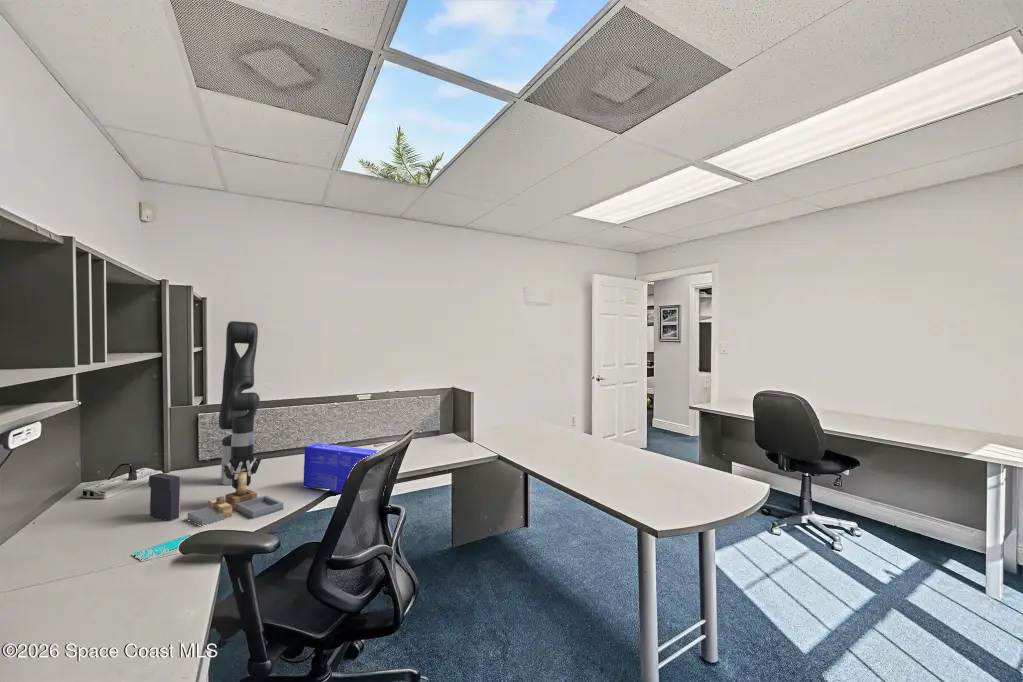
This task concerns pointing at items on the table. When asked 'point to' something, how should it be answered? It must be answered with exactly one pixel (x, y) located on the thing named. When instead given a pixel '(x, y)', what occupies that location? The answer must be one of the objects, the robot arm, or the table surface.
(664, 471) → the table surface
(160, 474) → the tall lidded box
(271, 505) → the tray
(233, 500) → the socket block
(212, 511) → the grey rectangular block
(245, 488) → the dowel
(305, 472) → the toner cartridge box
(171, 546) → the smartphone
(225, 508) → the stop block
